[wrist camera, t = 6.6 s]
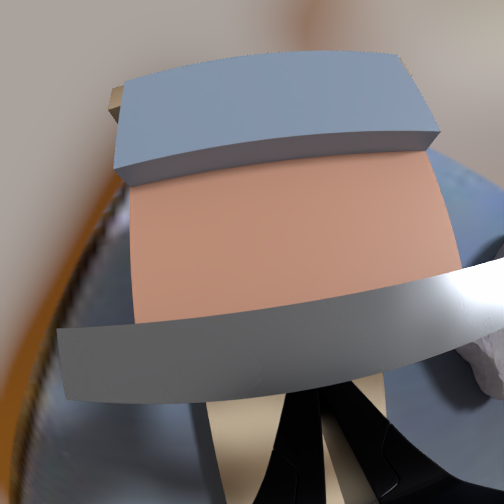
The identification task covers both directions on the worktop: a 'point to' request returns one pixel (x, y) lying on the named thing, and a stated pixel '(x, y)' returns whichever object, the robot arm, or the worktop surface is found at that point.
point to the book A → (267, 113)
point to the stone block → (488, 357)
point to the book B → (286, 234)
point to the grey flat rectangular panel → (282, 343)
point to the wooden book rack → (258, 423)
